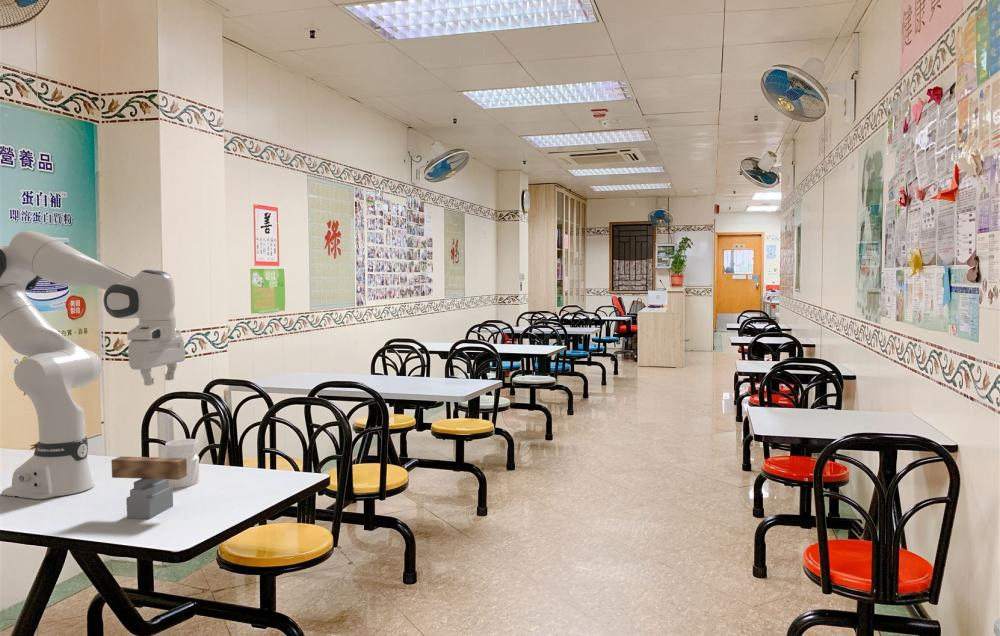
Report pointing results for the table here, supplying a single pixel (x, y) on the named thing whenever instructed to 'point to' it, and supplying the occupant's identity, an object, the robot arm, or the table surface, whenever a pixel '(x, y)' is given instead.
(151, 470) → the walnut bar
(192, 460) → the vase
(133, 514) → the ridge block
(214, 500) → the table surface
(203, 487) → the table surface
